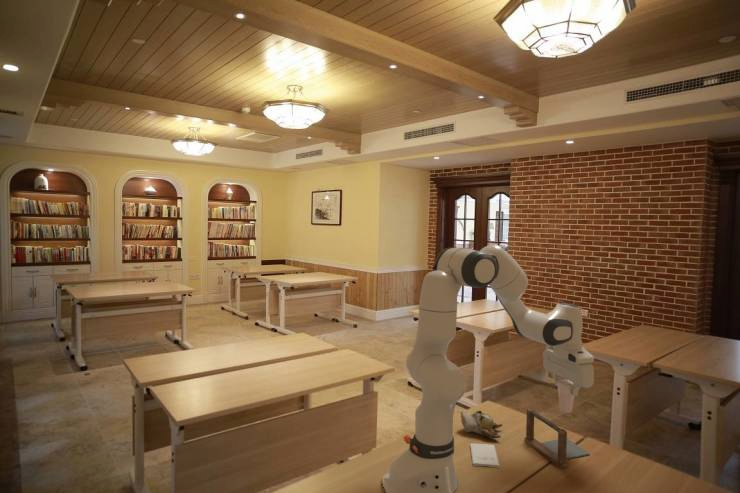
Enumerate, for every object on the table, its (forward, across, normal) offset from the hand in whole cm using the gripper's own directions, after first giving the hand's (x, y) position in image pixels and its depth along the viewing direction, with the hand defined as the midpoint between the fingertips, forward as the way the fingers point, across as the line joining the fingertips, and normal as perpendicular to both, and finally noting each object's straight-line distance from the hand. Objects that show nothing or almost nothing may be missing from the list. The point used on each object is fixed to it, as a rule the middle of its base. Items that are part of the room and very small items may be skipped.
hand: (566, 390), depth 152 cm
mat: (+21, 0, 0) cm, 21 cm away
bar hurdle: (+21, 0, -8) cm, 22 cm away
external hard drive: (+21, -4, -29) cm, 36 cm away
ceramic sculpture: (+21, -19, -21) cm, 35 cm away
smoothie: (+7, 0, 0) cm, 7 cm away
